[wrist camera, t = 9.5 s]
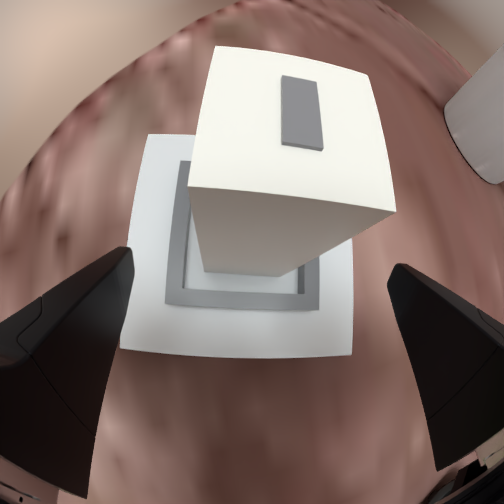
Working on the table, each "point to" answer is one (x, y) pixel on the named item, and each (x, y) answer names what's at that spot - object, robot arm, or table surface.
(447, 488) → the muzzle brake
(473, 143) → the utensil holder
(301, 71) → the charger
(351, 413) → the table surface
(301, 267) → the dock plate
